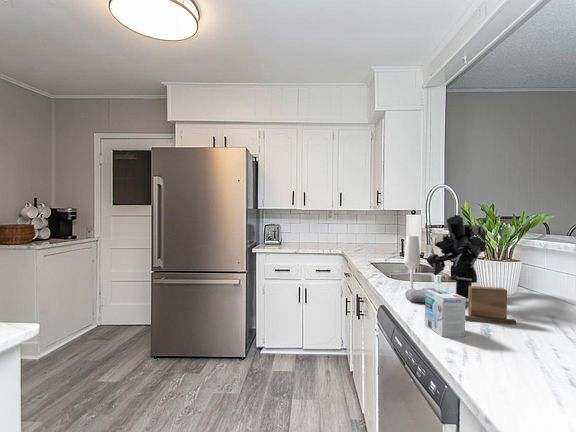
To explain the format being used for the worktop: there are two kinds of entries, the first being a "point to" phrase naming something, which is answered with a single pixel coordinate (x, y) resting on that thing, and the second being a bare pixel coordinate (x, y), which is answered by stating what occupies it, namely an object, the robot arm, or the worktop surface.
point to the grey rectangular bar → (490, 320)
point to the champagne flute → (412, 256)
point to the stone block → (417, 294)
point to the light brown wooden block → (487, 302)
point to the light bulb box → (445, 313)
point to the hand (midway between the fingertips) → (445, 271)
